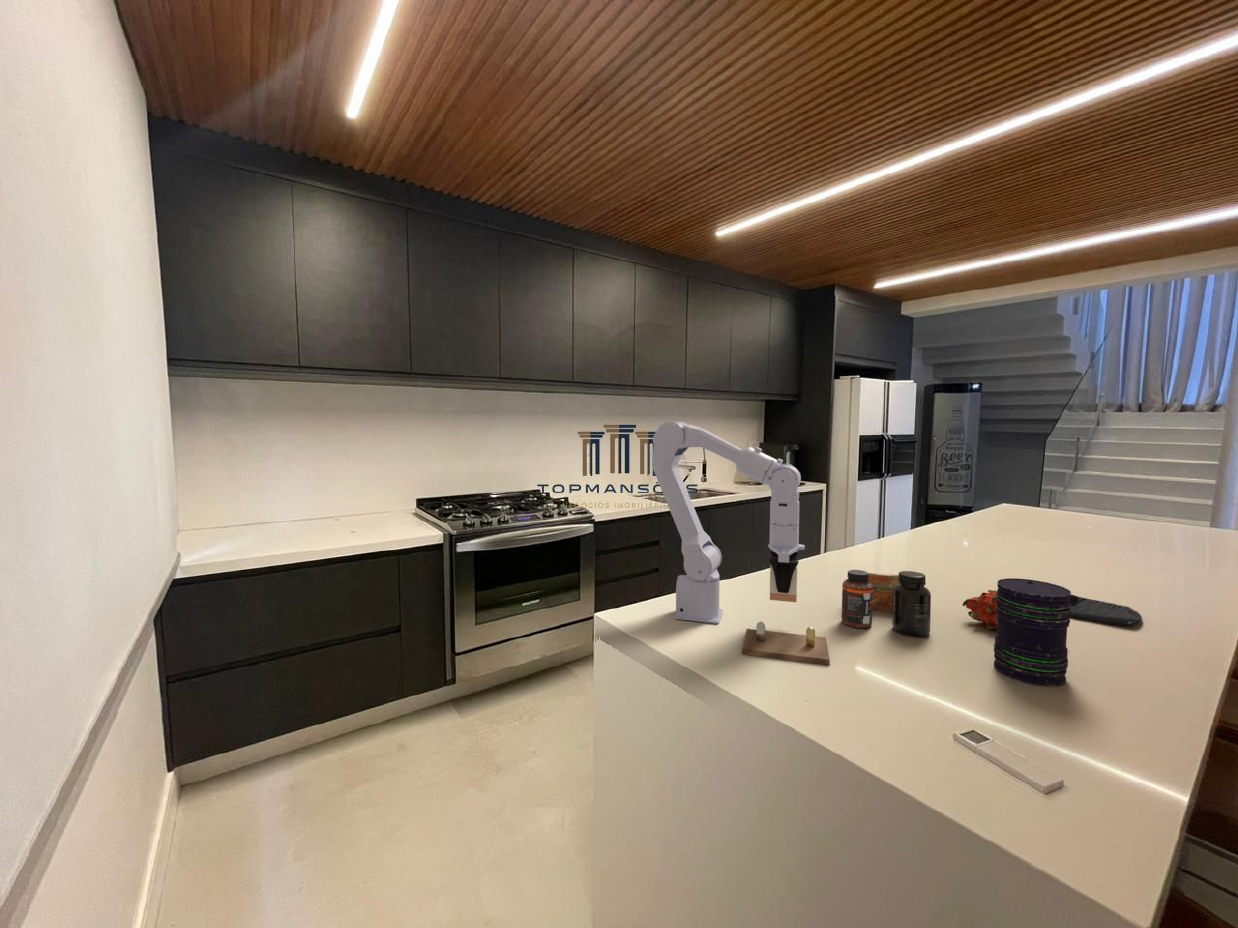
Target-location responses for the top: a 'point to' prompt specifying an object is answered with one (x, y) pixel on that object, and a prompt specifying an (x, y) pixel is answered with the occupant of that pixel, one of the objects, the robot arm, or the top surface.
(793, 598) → the sleeve
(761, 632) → the steel pin
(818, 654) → the board
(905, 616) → the supplement bottle
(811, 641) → the brass pin
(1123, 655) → the top surface
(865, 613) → the supplement bottle
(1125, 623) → the dark slate chunk
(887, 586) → the tin
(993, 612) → the dragon fruit
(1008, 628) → the dark blue cylinder
